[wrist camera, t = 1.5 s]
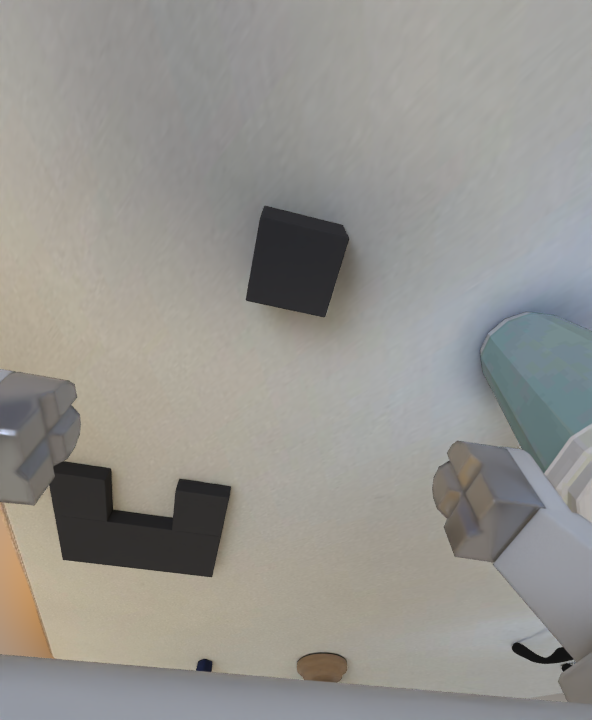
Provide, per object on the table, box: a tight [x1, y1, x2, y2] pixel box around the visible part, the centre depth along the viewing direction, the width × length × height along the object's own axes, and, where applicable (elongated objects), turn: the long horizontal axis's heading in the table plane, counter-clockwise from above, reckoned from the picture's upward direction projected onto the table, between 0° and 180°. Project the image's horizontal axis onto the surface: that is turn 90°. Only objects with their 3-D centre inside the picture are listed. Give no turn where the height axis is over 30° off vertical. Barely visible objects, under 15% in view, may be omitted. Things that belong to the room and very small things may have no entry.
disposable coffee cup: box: [480, 312, 592, 523], centre depth 24 cm, size 11×11×15 cm
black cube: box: [246, 206, 349, 317], centre depth 25 cm, size 6×6×4 cm
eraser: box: [196, 659, 212, 672], centre depth 62 cm, size 2×2×7 cm
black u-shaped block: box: [49, 462, 231, 577], centre depth 42 cm, size 18×16×2 cm
